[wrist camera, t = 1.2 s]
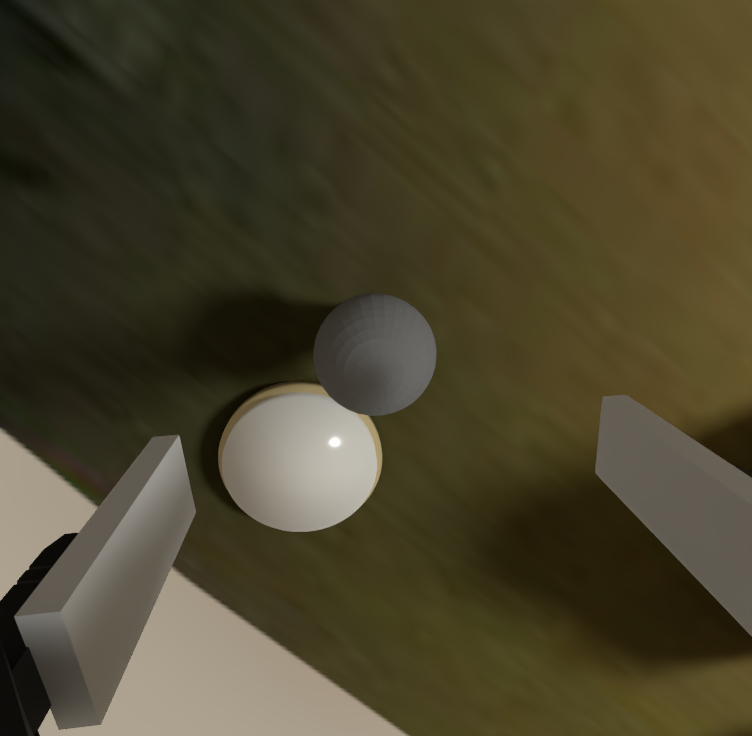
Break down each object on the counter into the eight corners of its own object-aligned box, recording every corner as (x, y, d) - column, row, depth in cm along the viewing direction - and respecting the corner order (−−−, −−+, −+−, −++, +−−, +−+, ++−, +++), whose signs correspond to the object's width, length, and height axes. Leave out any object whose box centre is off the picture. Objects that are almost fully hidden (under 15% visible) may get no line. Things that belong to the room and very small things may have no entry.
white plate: (208, 387, 31) (201, 398, 29) (376, 373, 32) (378, 383, 30) (235, 527, 35) (230, 544, 33) (384, 512, 35) (387, 528, 34)
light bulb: (301, 339, 30) (286, 402, 21) (347, 254, 29) (352, 281, 19) (383, 380, 32) (404, 458, 22) (431, 301, 30) (474, 349, 21)
